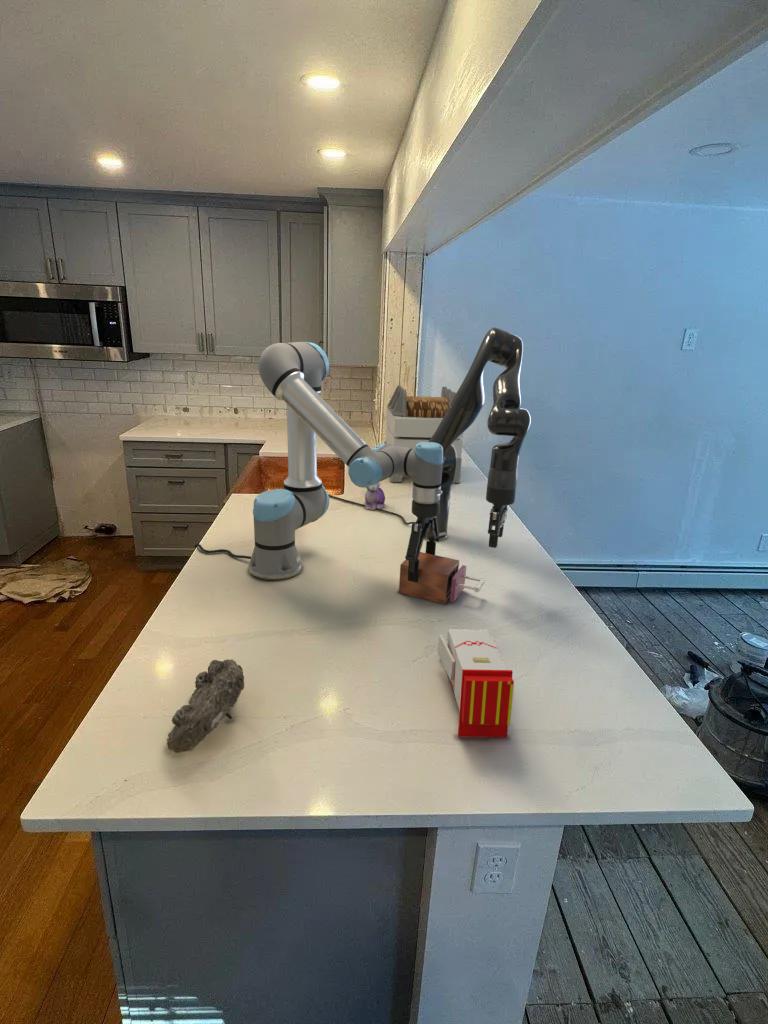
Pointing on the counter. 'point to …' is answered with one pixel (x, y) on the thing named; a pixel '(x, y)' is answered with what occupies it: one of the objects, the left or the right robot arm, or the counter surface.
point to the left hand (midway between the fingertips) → (421, 571)
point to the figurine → (374, 497)
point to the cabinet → (429, 578)
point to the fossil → (206, 705)
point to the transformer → (418, 422)
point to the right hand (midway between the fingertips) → (495, 541)
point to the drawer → (461, 583)
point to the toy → (478, 682)
